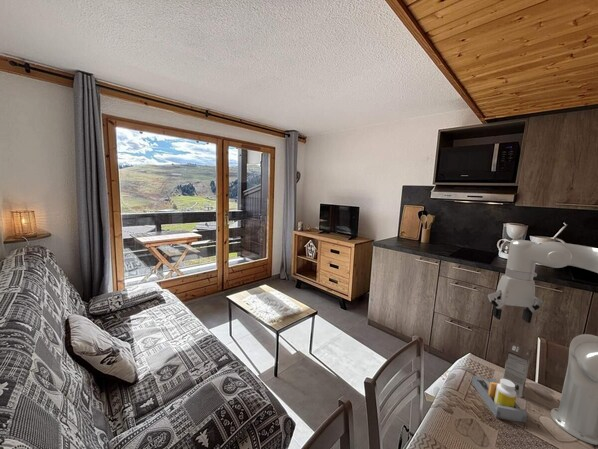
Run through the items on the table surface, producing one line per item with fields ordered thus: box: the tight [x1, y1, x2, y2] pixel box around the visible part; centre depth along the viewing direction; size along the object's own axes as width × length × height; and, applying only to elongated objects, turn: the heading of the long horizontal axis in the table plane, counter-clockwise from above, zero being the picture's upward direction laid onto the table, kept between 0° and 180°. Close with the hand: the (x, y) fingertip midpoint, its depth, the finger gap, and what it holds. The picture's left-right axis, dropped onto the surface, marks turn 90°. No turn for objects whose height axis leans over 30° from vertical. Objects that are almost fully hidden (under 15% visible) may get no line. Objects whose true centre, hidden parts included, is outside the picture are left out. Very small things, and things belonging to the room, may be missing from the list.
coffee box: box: [502, 342, 532, 398], centre depth 97 cm, size 9×6×16 cm
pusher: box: [483, 379, 500, 400], centre depth 94 cm, size 6×8×6 cm
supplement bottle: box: [494, 378, 517, 408], centre depth 87 cm, size 5×5×10 cm
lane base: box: [471, 375, 528, 424], centre depth 91 cm, size 9×16×4 cm, turn 171°
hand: (511, 319), depth 91 cm, fingers open, 9 cm apart
